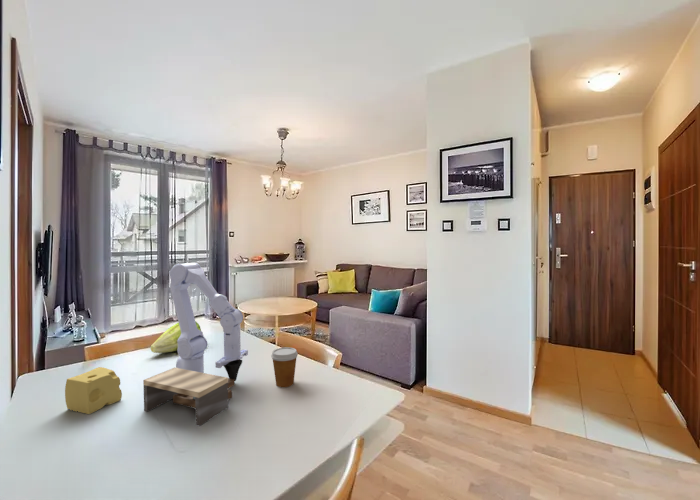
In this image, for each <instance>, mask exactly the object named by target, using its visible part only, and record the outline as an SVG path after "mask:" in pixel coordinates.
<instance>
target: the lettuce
mask: <svg viewBox="0 0 700 500" xmlns="http://www.w3.org/2000/svg"><path fill="white" fill-rule="evenodd" d="M195 322H196V326H197V329H198V330H200V331H202V328H201V326H200V324H199V323H198V321H196V320H195ZM180 335H181V330H180V326H179V322H176V323H175V324H173V325H172V326H170V327H169V328H168V329H166V330H165V331H164V332H163V333H162V334H161V335H160V336H159V337H158V338H157V339H156V340H155V341H154V342H153V343H152V344H151V346H150V350H151V352H152V353H153V354H154V353H155V354H162V353H163V354H164V353H172V352H176V351H177V349H178V342H177V340H178V339H179V337H180Z"/></svg>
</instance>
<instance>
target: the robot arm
mask: <svg viewBox="0 0 700 500" xmlns="http://www.w3.org/2000/svg"><path fill="white" fill-rule="evenodd" d="M168 274H169V275H168V276H169V278H170V282H169V283H170V285H169V287H170V288H169V289H170V293H171V298H172V301H173V302H172V303H173V306H174V309H175V313H176V314H175V315H176V317H177V321H178V322H177V323H179V326H180V330H181V335H180V337H179V339H178V340H177V342H178V349H177V350H176V351H177V354H178V356H179V357H178V358H177V360H176V362H175V368H180V369H185V370H191V371H196V372H201V373H205V365H204V363H205V361H204V354H205V351H206V350H207V348H208V340H207V338H206V337H205V336H204V334H203V331H202V330H201V331H200V330H198V329H197V326H196V322H197V321H196V319H195V314H194V310H193V305H192V303H191V299H190V294H189V290H188V288H189V287H190V286H191V284H193V285H196V287H197V288H198V289H199V290H201V292H202V293H203V294H204V295H205V296H206V297H207V299H209V306H210V307H211V308H212V310H213V311H214V312H215V313H216V315H217V316H218V317H219V318H220V320H219V324H220V326H221V327H222V332H223V356H222V357H221V358H220V359H219V360H216V361H215V368H218V369H221V368H224V369H225V371H226V373H227V376H228V378H230V379H235V382H236V381H237V378H238V374H239V370H240V368H241V366H242V364H243V357H246V356H248V355H249V350H248V349H241V347H242V346H241V324H242V323H243V320H244V315H243V313H242V311H241V310H240V309H237V308H235V307H234V306H233V305H232V304H231V303H230V301H228V297H227V296H226V295H224V294H222V293H221V294H219V292H217V290H216V289H215V288H214V286H213V285H212V283H211V281H210V280H209V279H208V277H207V276H206V275H205V270H204V269H203V268H202V267H201V265H200V264H199V263H197V262H189V263H188V262H187V263H177V264H173V266H172V267H171V269H170V270H169V271H168ZM195 321H196V322H195Z"/></svg>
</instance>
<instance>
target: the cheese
mask: <svg viewBox="0 0 700 500" xmlns="http://www.w3.org/2000/svg"><path fill="white" fill-rule="evenodd" d="M120 385H121V378H120V376H118V375H117V374H116V371H114V370H112V369H109V368H107V367H101V366H100V367H99V366H98V367H96V368H94V369H91V370H89V371H86V372H84V373H81V374H78V375H76V376H72V377H68V378H66V383H65V387H64V398H65V405H66V407H67V410H68V409H70V410H69V411H72V410H73V412H77V411H78V412H77V413H82V414H86V415H91V414H93V413H95V412H97V411H99V410H101V409H103V408H105V407H104V406H107V405H108V406H109V405H113V404H115V403H118V402H119V401H121V400H122V397H123V393H122V389H120Z"/></svg>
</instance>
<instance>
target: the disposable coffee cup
mask: <svg viewBox="0 0 700 500" xmlns="http://www.w3.org/2000/svg"><path fill="white" fill-rule="evenodd" d="M270 356H271V360H272V362H273V363H272V364H273V365H272V366H273V370H274V378H275V379H274V380H275V385H276V387H279V388H288V387H291V386H293V385H294V383H295V373H296V367H297V366H296V364H297V358H298V351H297V349H296V348H294V347H288V346H287V347H279V348H275V349H274V350H273V351H272V352H271V355H270Z"/></svg>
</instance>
